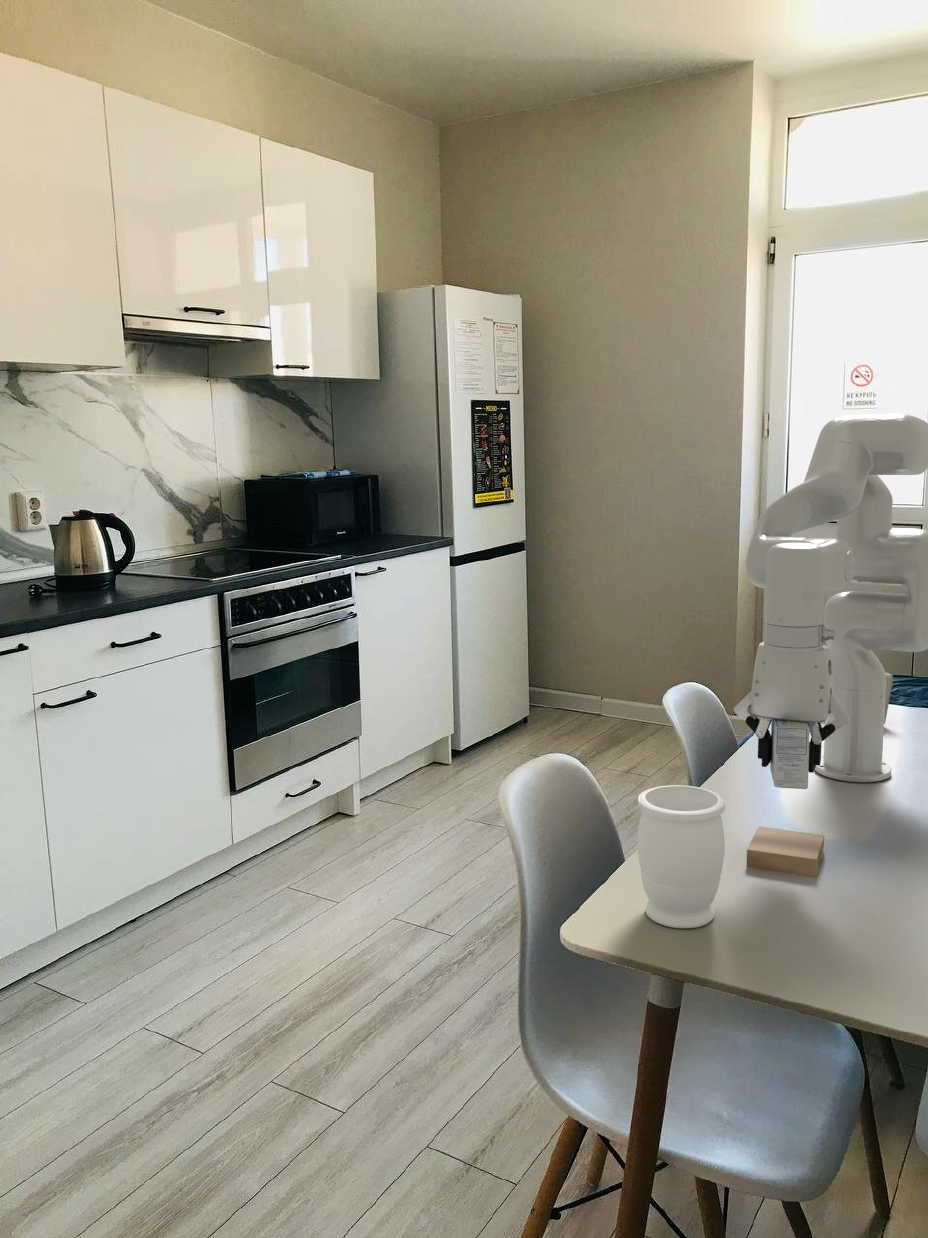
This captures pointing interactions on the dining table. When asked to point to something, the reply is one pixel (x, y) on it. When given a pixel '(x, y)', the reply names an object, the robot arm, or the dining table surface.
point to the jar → (680, 853)
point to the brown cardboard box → (786, 851)
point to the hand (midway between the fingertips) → (788, 765)
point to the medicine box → (790, 754)
